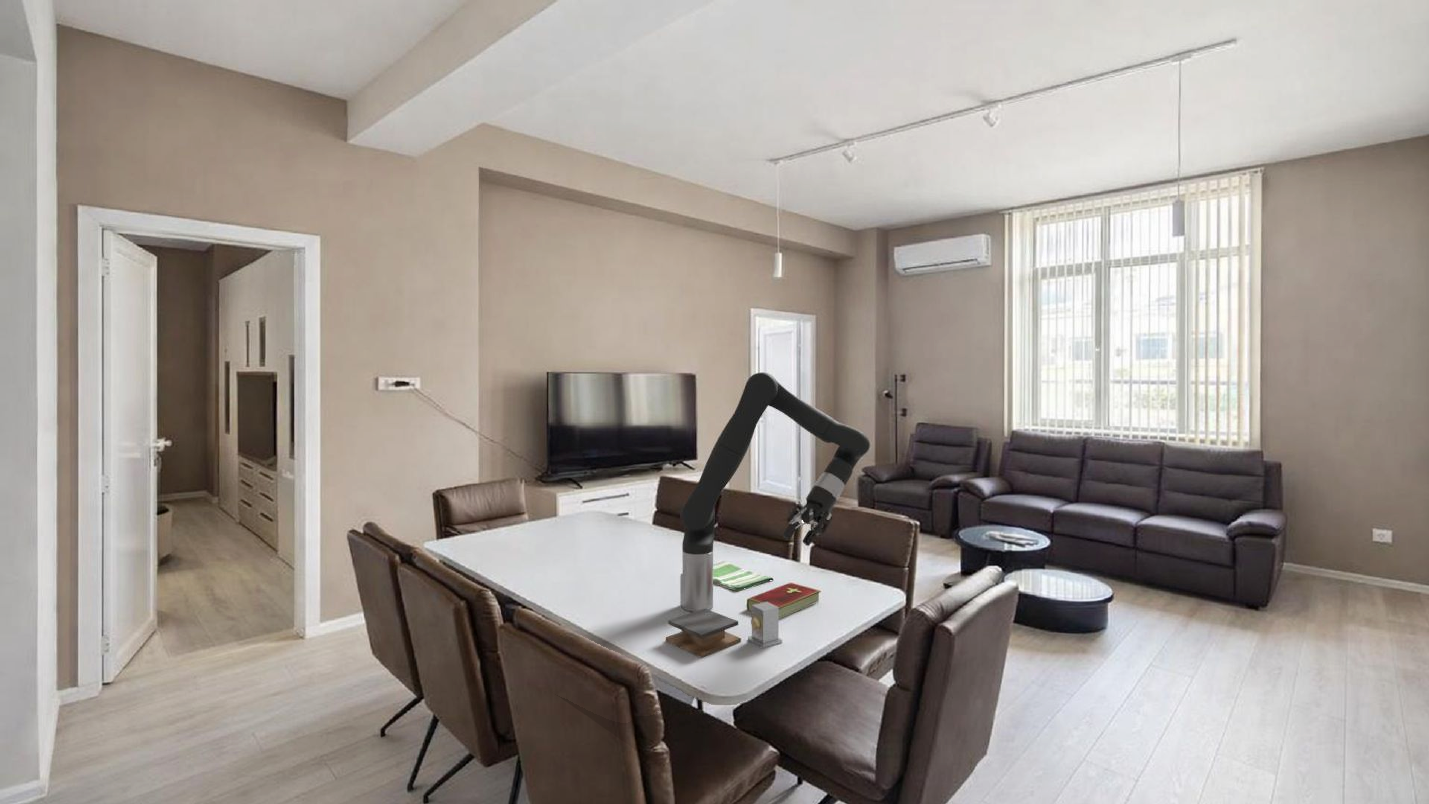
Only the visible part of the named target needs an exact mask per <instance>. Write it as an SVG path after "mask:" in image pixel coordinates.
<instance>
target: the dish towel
mask: <svg viewBox="0 0 1429 804" xmlns="http://www.w3.org/2000/svg"><path fill="white" fill-rule="evenodd" d="M770 580H772V581H770ZM773 581H774V578H773V577H771V576H768V575H767V576H766V575H763V574H761V573H760V574H759V573H756V572H752V571H750V570H747V569H743V568H742V567H740V566H735V565H734V564H731V563H730V562H727V561H726V560H725V561H721V562H718V563H715V564H714V563H713V585H717V586H719V585H720V587H723V588H725V589H727V590H728V589H729V590H731V591H736V592H740V590H741V591H744V590H745V589H744V588H747V589H751V588H753V587H755V586H754V585H756V586H759V585H762V584H767V583H770V582H773ZM761 583H762V584H761ZM752 586H753V587H752ZM743 589H744V590H743Z"/></svg>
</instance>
